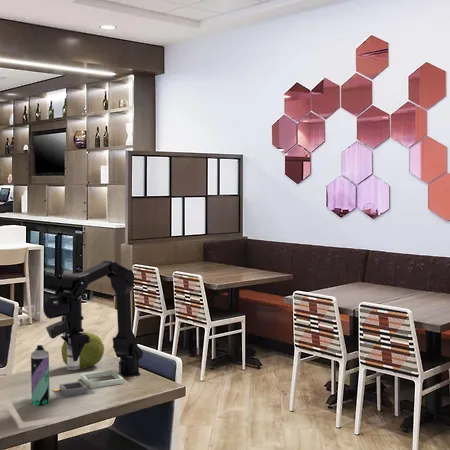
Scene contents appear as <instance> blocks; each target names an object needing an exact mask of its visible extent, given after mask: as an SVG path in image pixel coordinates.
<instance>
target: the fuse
mask: <svg viewBox="0 0 450 450" xmlns="http://www.w3.org/2000/svg"><path fill="white" fill-rule="evenodd" d="M66 367H67V370H69V371H77V370H80V369H79V368H80V355H79V358H78V360H77V361H73V356H72V350H71V346H70V345H69V344H68V345H67V365H66Z"/></svg>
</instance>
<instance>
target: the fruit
mask: <svg viewBox="0 0 450 450" xmlns="http://www.w3.org/2000/svg"><path fill="white" fill-rule="evenodd" d="M84 333H85V334H87V335H88V336H89V337H90V343H86V344H85V345H84V347H83V349H82V351H81V353H80V368H79V369H78V370H83V369H86V368H91V367H93V366H95V365H97V364H98V363H99V362H100V361H101V360H102V358H103V356H104V352H105V345H104V344H103V341H102V338H100V337H99V336H98V335H97V334H94V333H89V332H84ZM60 352H61V358H62V361H63V363H64V364H65V365H66V366H67V345H66V342H65V341H64V340H63V343H62V346H61V351H60Z"/></svg>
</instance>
